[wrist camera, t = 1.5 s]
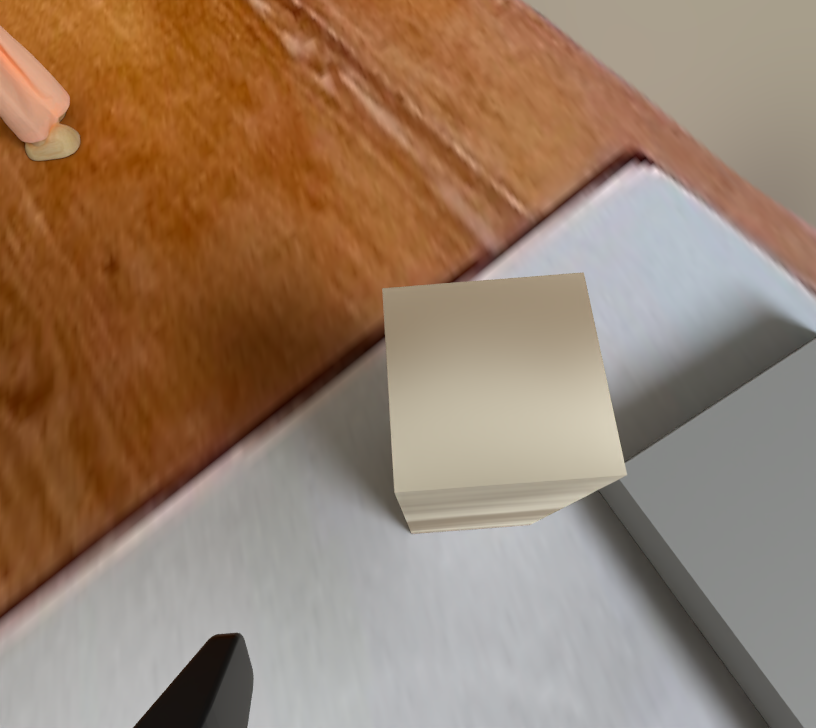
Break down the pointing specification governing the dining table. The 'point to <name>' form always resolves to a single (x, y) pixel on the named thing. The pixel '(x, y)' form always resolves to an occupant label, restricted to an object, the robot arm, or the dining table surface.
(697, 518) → the base plate
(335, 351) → the dining table surface
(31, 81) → the grandmother figurine
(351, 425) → the dining table surface
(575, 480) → the cream block
